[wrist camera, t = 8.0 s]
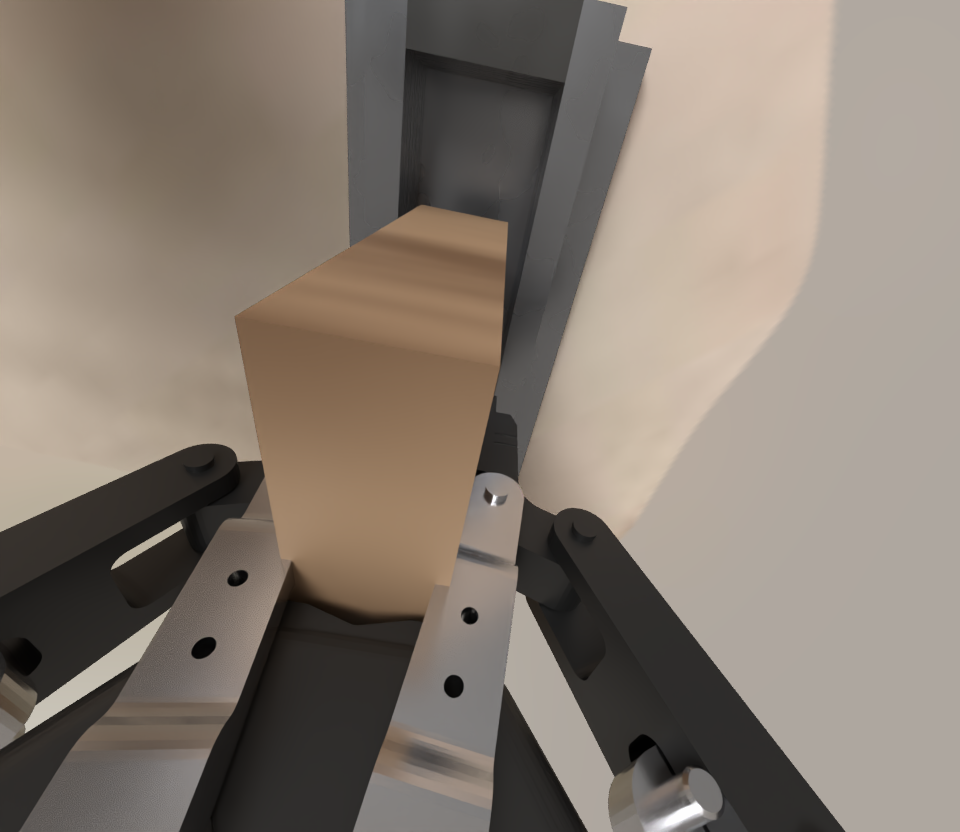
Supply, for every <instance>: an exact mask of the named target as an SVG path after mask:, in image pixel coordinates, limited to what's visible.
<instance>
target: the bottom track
mask: <svg viewBox="0 0 960 832" xmlns="http://www.w3.org/2000/svg"><path fill="white" fill-rule="evenodd" d="M626 10H627V7H624V6H620V5H616V4H611V3H607V2H602V1H598V0H345V23H346V74H347V125H348V176H349V228H350V247H351V246H353V245H355V244H356V243H358V242H360V241H361V240H363V239H365V238H366V237H368V236H370V235H371V234H373V233H375V232H376V231H378V230H380V229H381V228H383V227H385V226H386V225H388V224H390V223H391V222H393V221H395V220H396V219H398V218H400V217H401V216H403V215H405V214H406V213H408V212H410V211H411V210H413V209H415V208H416V207H418V206H420V205H426V206H431V207H436V208H441V209H445V210H450V211H455V212H460V213H465V214H470V215H475V216H479V217H484V218H489V219H494V220H499V221H504V222H508V233H507V251H506V269H505V288H504V306H503V324H502V342H501V360H500V370H499V374H498V378H497V383H496V387H495V391H494V396H497V404H496V412H499V413H504V414H510V415H511V416H512V418H513V419H514V421H515V423H516V424H517V441H518V446H517V448H518V476H519V473H520V469H521V466H522V463H523V460H524V457H525V453H526V450H527V447H528V444H529V441H530V437H531V434H532V431H533V428H534V425H535V421H536V418H537V415H538V412H539V409H540V405H541V402H542V399H543V396H544V393H545V389H546V386H547V383H548V380H549V377H550V373H551V370H552V367H553V364H554V361H555V357H556V354H557V351H558V348H559V345H560V341H561V338H562V335H563V332H564V329H565V325H566V322H567V319H568V316H569V313H570V309H571V306H572V303H573V300H574V297H575V293H576V290H577V287H578V284H579V281H580V277H581V274H582V271H583V268H584V265H585V261H586V258H587V255H588V252H589V249H590V245H591V242H592V239H593V236H594V233H595V229H596V226H597V223H598V220H599V217H600V213H601V210H602V207H603V204H604V201H605V197H606V194H607V191H608V188H609V185H610V181H611V178H612V175H613V172H614V169H615V165H616V162H617V159H618V156H619V153H620V149H621V146H622V143H623V140H624V137H625V133H626V130H627V127H628V124H629V121H630V117H631V114H632V111H633V108H634V105H635V101H636V98H637V95H638V92H639V89H640V85H641V82H642V79H643V76H644V73H645V69H646V66H647V63H648V60H649V57H650V53H651V50H652V49H651V48H647V47H642V46H638V45H633V44H629V43H624V42H620V41H618V39H619V36H620V32H621V28H622V25H623V21H624V17H625V14H626Z"/></svg>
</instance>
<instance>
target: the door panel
mask: <svg viewBox="0 0 960 832" xmlns="http://www.w3.org/2000/svg"><path fill="white" fill-rule="evenodd" d="M507 233H508V222H504V221H499V220H494V219H489V218H484V217H479V216H475V215H470V214H465V213H460V212H455V211H450V210H445V209H441V208H436V207H431V206H426V205H420V206H418V207H416V208H415V209H413V210H411V211H410V212H408V213H406V214H405V215H403V216H401V217H400V218H398V219H396V220H395V221H393V222H391V223H390V224H388V225H386V226H385V227H383V228H381V229H380V230H378V231H376V232H375V233H373V234H371V235H370V236H368V237H366V238H365V239H363V240H361V241H360V242H358V243H356V244H355V245H353V246H351V247H350V248H348V249H346V250H345V251H343V252H341V253H340V254H338V255H336V256H335V257H333V258H331V259H330V260H328V261H326V262H325V263H323V264H321V265H320V266H318V267H316V268H315V269H313V270H311V271H310V272H308V273H306V274H305V275H303V276H301V277H300V278H298V279H296V280H295V281H293V282H291V283H290V284H288V285H286V286H285V287H283V288H281V289H280V290H278V291H276V292H275V293H273V294H271V295H270V296H268V297H266V298H265V299H263V300H261V301H260V302H258V303H256V304H255V305H253V306H251V307H250V308H248V309H246V310H245V311H243V312H241V313H240V314H238V315H236V316H235V322H236V327H237V332H238V337H239V343H240V348H241V353H242V358H243V364H244V369H245V374H246V379H247V385H248V390H249V395H250V400H251V406H252V411H253V416H254V421H255V427H256V432H257V437H258V442H259V448H260V453H261V458H262V463H263V469H264V474H265V479H266V484H267V490H268V495H269V500H270V505H271V511H272V516H273V521H274V526H275V532H276V537H277V542H278V547H279V552H280V558H281V559H286V560H292V566H293V572H294V578H295V584H296V585H295V586H294V587H293V589H292V591H291V593H290V595H289V598H288V600H289V601H294V602H300V603H306V604H309V605H311V606H313V607H316V608H318V609H320V610H322V611H324V612H326V613H328V614H330V615H333V616H335V617H337V618H339V619H341V620H343V621H345V622H347V623H350V624H352V625H368V624H378V623H388V622H397V621H407V620H412V621H419V622H423V620H424V617H425V614H426V611H427V608H428V605H429V602H430V599H431V595H432V592H433V589H434V586H435V584H438V585H444V586H450V583H451V579H452V574H453V570H454V566H455V561H456V557H457V553H458V548H459V544H460V540H461V535H462V531H463V526H464V522H465V518H466V513H467V509H468V505H469V500H470V496H471V492H472V487H473V483H474V479H475V474H476V470H477V465H478V461H479V457H480V452H481V448H482V444H483V439H484V435H485V431H486V426H487V422H488V418H489V413H490V409H491V404H492V400H493V396H494V391H495V387H496V383H497V378H498V374H499V370H500V360H501V342H502V324H503V306H504V288H505V269H506V251H507Z"/></svg>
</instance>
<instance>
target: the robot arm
mask: <svg viewBox="0 0 960 832" xmlns="http://www.w3.org/2000/svg"><path fill="white" fill-rule="evenodd" d="M496 404H497V396H493V400H492V404H491V409H490V413H489V418H488V422H487V426H486V431H485V435H484V439H483V444H482V448H481V452H480V457H479V461H478V465H477V470H476V474H475V479H474V483H473V487H472V492H471V496H470V500H469V505H468V509H467V513H466V518H465V522H464V526H463V531H462V535H461V540H460V544H459V548H458V553H457V557H456V561H455V566H454V570H453V574H452V579H451V583H450V586H444V585H438V584H435V586H434V589H433V592H432V595H431V599H430V602H429V605H428V608H427V611H426V614H425V617H424V620H423V622H419V621H412V620H407V621H397V622H388V623H378V624H368V625H352V624H350V623H347V622H345V621H343V620H341V619H339V618H337V617H335V616H333V615H330V614H328V613H326V612H324V611H322V610H320V609H318V608H316V607H313V606H311V605H309V604H306V603H300V602H294V601H289V600H288V598H289V595H290V593H291V591H292V589H293V587H294V586H295V585H296V584H295V578H294V572H293V566H292V560H286V559H281V558H280V552H279V547H278V542H277V537H276V532H275V526H274V521H273V516H272V511H271V505H270V500H269V495H268V490H267V484H266V479H265V474H264V469H263V463H262V461H246V462H238V461H237V457H236V454H235V452H234V451H233V450H232V449H230V448H229V447H227V446H224V445H219V444H201V445H196V446H192V447H188V448H186V449H183V450H181V451H178V452H176V453H174V454H172V455H170V456H167V457H165V458H163V459H161V460H159V461H156V462H154V463H152V464H150V465H148V466H145V467H143V468H141V469H139V470H137V471H134V472H132V473H130V474H128V475H125V476H123V477H121V478H119V479H117V480H115V481H112V482H110V483H108V484H106V485H103V486H101V487H99V488H97V489H95V490H92V491H90V492H88V493H86V494H84V495H81V496H79V497H77V498H75V499H72V500H70V501H68V502H66V503H64V504H61V505H59V506H57V507H55V508H53V509H51V510H49V511H46V512H44V513H42V514H40V515H37V516H35V517H33V518H31V519H28V520H26V521H24V522H22V523H19V524H17V525H15V526H13V527H11V528H9V529H6V530H4V531H2V532H0V832H588V831H587V829H586V828H585V826H584V824H583V822H582V820H581V819H580V817H579V815H578V813H577V812H576V810H575V808H574V806H573V804H572V803H571V801H570V799H569V797H568V796H567V794H566V792H565V790H564V788H563V787H562V785H561V783H560V781H559V780H558V778H557V776H556V774H555V772H554V771H553V769H552V767H551V765H550V764H549V762H548V760H547V758H546V757H545V755H544V753H543V751H542V749H541V748H540V746H539V744H538V742H537V740H536V739H535V737H534V735H533V733H532V732H531V730H530V728H529V727H528V724H527V723H526V721H525V719H524V717H523V715H522V714H521V712H520V710H519V708H518V707H517V705H516V703H515V701H514V699H513V698H512V696H511V694H510V692H509V691H508V689H507V687H506V686H505V684H504V678H505V671H506V663H507V656H508V648H509V640H510V633H511V625H512V617H513V609H514V601H515V594H516V591H518V592H519V593H522V594H523V595H525V596H526V600H527V603H528V605H529V607H530V609H531V611H532V613H533V615H534V617H535V619H536V621H537V623H538V625H539V627H540V629H541V631H542V633H543V635H544V637H545V639H546V641H547V643H548V645H549V647H550V649H551V651H552V653H553V655H554V657H555V659H556V661H557V663H558V665H559V667H560V669H561V671H562V673H563V675H564V677H565V679H566V681H567V682H568V685H569V687H570V688H571V691H572V693H573V695H574V697H575V699H576V701H577V703H578V705H579V707H580V709H581V711H582V713H583V715H584V717H585V719H586V721H587V723H588V725H589V727H590V729H591V731H592V732H593V735H594V737H595V739H596V741H597V743H598V745H599V747H600V749H601V751H602V753H603V755H604V756H605V759H606V761H607V762H608V765H609V767H610V769H611V771H612V773H613V775H614V776H615V778H614V780H613V782H612V784H611V787H610V791H609V798H608V809H609V817H610V822H611V826H612V829H613V832H845V831H844V829H843V828H842V827H841V826H840V824H839V823H838V822H837V820H836V819H835V818H834V816H833V815H832V814H831V813H830V811H829V810H828V809H827V808H826V806H825V805H824V804H823V802H822V801H821V800H820V799H819V797H818V796H817V795H816V793H815V792H814V791H813V790H812V788H811V787H810V786H809V784H808V783H807V782H806V781H805V779H804V778H803V777H802V775H801V774H800V773H799V772H798V770H797V769H796V768H795V767H794V765H793V764H792V763H791V761H790V760H789V759H788V758H787V756H786V755H785V754H784V752H783V751H782V750H781V749H780V747H779V746H778V745H777V743H776V742H775V741H774V739H773V738H772V737H771V736H770V734H769V733H768V732H767V730H766V729H765V728H764V727H763V725H762V724H761V723H760V721H759V720H758V719H757V718H756V716H755V715H754V714H753V713H752V711H751V710H750V709H749V707H748V706H747V705H746V704H745V702H744V701H743V700H742V698H741V697H740V696H739V695H738V693H737V692H736V691H735V689H734V688H733V687H732V686H731V684H730V683H729V682H728V680H727V679H726V678H725V677H724V675H723V674H722V673H721V672H720V670H719V669H718V668H717V666H716V665H715V664H714V662H713V661H712V660H711V659H710V657H709V656H708V655H707V653H706V652H705V651H704V650H703V648H702V647H701V646H700V645H699V643H698V642H697V641H696V639H695V638H694V637H693V635H692V634H691V633H690V632H689V630H688V629H687V628H686V626H685V625H684V624H683V623H682V621H681V620H680V619H679V617H678V616H677V615H676V614H675V613H674V611H673V610H672V609H671V607H670V606H669V605H668V603H667V602H666V601H665V600H664V598H663V597H662V596H661V594H660V593H659V592H658V591H657V589H656V588H655V587H654V585H653V584H652V583H651V582H650V580H649V579H648V578H647V577H646V575H645V574H644V573H643V571H642V570H641V569H640V567H639V566H638V565H637V564H636V562H635V561H634V560H633V559H632V557H631V556H630V555H629V553H628V552H627V551H626V549H625V548H624V547H623V546H622V544H621V543H620V542H619V540H618V539H617V538H616V537H615V535H614V534H613V533H612V531H611V530H610V529H609V528H608V526H607V525H606V524H605V523H604V522H603V521H602V520H601V519H600V518H599V517H597V516H596V515H594V514H592V513H591V512H588V511H586V510H583V509H578V508H569V509H565V510H562V511H561V512H559V513H558V514H557V516H556V515H553V514H551V513H549V512H547V511H544V510H542V509H540V508H538V507H536V506H535V505H533V504H532V503H531V502H529V501H528V500H527V499H526V498H525V497H524V493H523V491H522V489H521V487H520V486H519V484H518V448H517V446H518V441H517V424H516V423H515V421H514V419H513V418H512V416H511V415H510V414H504V413H499V412H496ZM179 521H181V524H182V526H183V529H181V530H179V531H178V532H176V533H174V534H173V535H171V536H169V537H168V538H166V539H164V540H163V541H161V542H159V543H157V544H156V545H154V546H152V547H151V548H149V549H148V550H146V551H144V552H142V553H141V554H139V555H137V556H136V557H134V558H132V559H131V560H129V561H127V562H126V563H124V564H122V565H121V566H119V567H117V568H115V569H112V570H111V567H112V565H113V564H114V563H115V561H116V560H117V559H118V558H119V557H120V556H122V555H123V554H124V553H126V552H127V551H129V550H131V549H132V548H134V547H136V546H138V545H139V544H141V543H143V542H145V541H146V540H148V539H149V538H151V537H153V536H155V535H157V534H158V533H160V532H162V531H163V530H165V529H167V528H169V527H170V526H172V525H174V524H176V523H177V522H179ZM170 608H171V609H170ZM168 609H170V611H169V612H168V614H167V616H166V617H165V619H164V621H163V622H162V624H161V626H160V627H159V629H158V631H157V632H156V634H155V636H154V637H153V639H152V641H151V642H150V644H149V646H148V647H147V649H146V651H145V652H144V654H143V656H142V658H141V659H140V661H139V662H137V663H136V664H134V665H132V666H131V667H129V668H128V669H126V670H125V671H123V672H122V673H120V674H118V675H117V676H115V677H114V678H112V679H110V680H109V681H107V682H106V683H104V684H103V685H101V686H99V687H98V688H96V689H95V690H93V691H91V692H90V693H88V694H87V695H85V696H84V697H82V698H81V699H79V700H77V701H76V702H74V703H73V704H71V705H69V706H68V707H66V708H65V709H63V710H62V711H60V712H58V713H57V714H55V715H54V716H52V717H50V718H49V719H47V720H46V721H44V722H43V723H41V724H40V725H38V726H36V727H35V728H33V729H32V730H30V731H28V732H27V733H25V725H24V724H25V723H26V721H27V720H28V718H29V717H30V715H31V713H32V711H33V709H34V707H35V705H37V704H38V703H39V702H41V701H42V700H44V699H45V698H46V697H48V696H49V695H51V694H52V693H53V692H55V691H56V690H57V689H59V688H60V687H62V686H63V685H64V684H66V683H67V682H69V681H70V680H71V679H73V678H74V677H75V676H77V675H78V674H80V673H81V672H82V671H84V670H85V669H87V668H88V667H89V666H91V665H92V664H93V663H95V662H96V661H98V660H99V659H100V658H102V657H103V656H105V655H106V654H107V653H109V652H110V651H111V650H113V649H114V648H116V647H117V646H118V645H119V644H121V643H122V642H124V641H125V640H127V639H128V638H129V637H131V636H132V635H133V634H135V633H136V632H138V631H139V630H140V629H142V628H143V627H145V626H146V625H147V624H149V623H150V622H152V621H153V620H154V619H156V618H157V617H158V616H160V615H161V614H163V613H164V612H165V611H167V610H168Z"/></svg>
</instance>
